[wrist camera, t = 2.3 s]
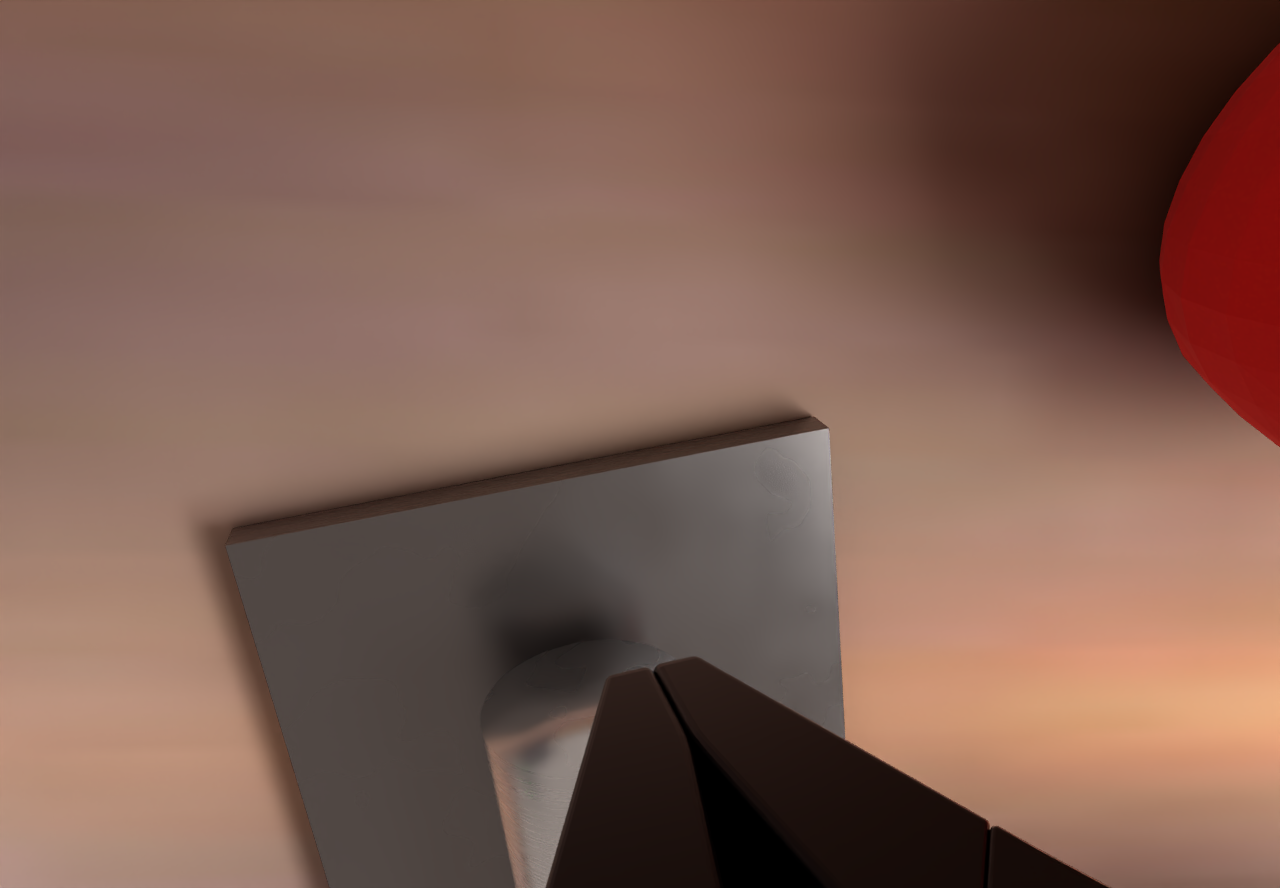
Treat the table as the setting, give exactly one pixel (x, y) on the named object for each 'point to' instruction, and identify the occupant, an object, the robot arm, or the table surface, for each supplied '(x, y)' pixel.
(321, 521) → the metal cylinder assembly
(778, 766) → the robot arm
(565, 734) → the shiny metal cylinder
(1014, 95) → the table surface
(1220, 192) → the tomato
